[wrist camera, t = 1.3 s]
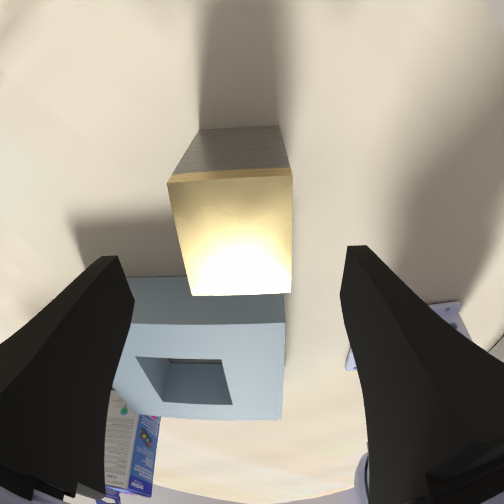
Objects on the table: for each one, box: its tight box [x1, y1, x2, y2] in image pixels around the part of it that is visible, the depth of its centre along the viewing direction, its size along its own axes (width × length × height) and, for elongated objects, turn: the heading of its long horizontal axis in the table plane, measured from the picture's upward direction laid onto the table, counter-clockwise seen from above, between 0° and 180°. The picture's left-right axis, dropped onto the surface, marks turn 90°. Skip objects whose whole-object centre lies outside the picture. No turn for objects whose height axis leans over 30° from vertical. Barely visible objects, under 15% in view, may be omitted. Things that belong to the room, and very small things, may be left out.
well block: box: [112, 276, 285, 421], centre depth 23 cm, size 14×14×4 cm
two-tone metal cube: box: [167, 126, 292, 296], centre depth 14 cm, size 4×5×6 cm
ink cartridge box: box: [95, 390, 161, 504], centre depth 28 cm, size 10×6×14 cm, turn 104°
